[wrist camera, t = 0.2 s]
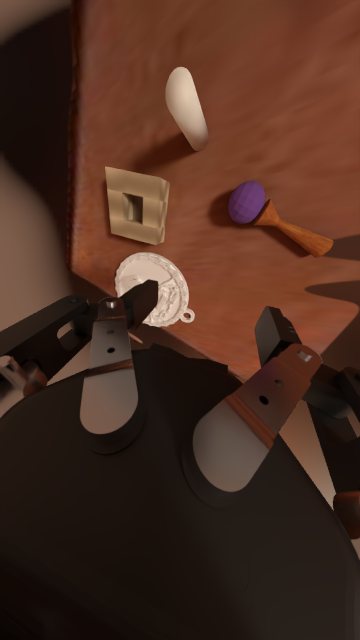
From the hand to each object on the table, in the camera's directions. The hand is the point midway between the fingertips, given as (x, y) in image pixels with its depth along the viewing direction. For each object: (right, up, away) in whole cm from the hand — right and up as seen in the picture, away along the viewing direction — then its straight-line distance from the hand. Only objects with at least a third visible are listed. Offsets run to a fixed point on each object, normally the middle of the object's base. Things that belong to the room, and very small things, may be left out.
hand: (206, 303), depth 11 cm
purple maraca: (+17, +18, +18) cm, 31 cm away
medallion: (-9, +7, +36) cm, 37 cm away
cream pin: (+1, +30, +15) cm, 34 cm away
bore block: (-10, +24, +23) cm, 35 cm away
